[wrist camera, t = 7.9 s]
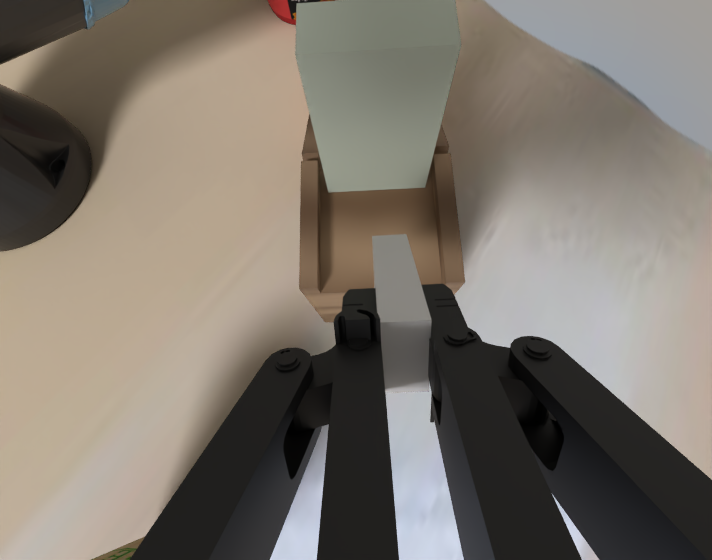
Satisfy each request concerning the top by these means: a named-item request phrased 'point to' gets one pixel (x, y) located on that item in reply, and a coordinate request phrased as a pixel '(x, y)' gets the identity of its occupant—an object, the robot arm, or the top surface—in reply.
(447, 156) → the launcher
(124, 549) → the coffee cup
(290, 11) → the canned food
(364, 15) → the pale green block
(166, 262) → the top surface
